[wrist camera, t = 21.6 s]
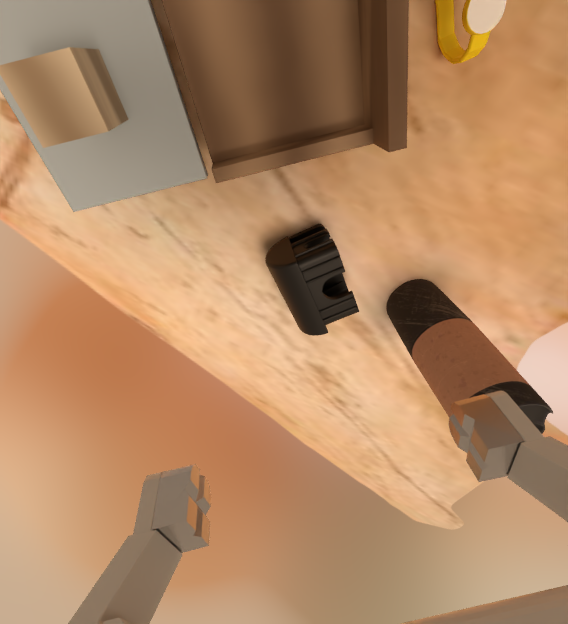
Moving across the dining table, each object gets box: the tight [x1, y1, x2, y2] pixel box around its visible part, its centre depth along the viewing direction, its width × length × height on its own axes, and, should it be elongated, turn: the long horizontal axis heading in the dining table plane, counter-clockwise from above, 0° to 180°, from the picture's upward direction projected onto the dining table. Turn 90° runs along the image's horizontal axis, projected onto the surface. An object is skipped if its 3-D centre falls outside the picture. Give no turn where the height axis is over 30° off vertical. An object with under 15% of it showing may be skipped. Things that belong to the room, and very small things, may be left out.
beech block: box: [0, 47, 129, 148], centre depth 21 cm, size 4×4×5 cm
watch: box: [435, 0, 506, 64], centre depth 26 cm, size 6×3×6 cm, turn 20°
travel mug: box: [387, 279, 553, 434], centre depth 38 cm, size 8×8×20 cm
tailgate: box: [0, 0, 208, 212], centre depth 24 cm, size 2×14×11 cm
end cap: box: [266, 224, 359, 335], centre depth 38 cm, size 10×7×7 cm
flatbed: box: [162, 0, 409, 183], centre depth 23 cm, size 13×16×12 cm
